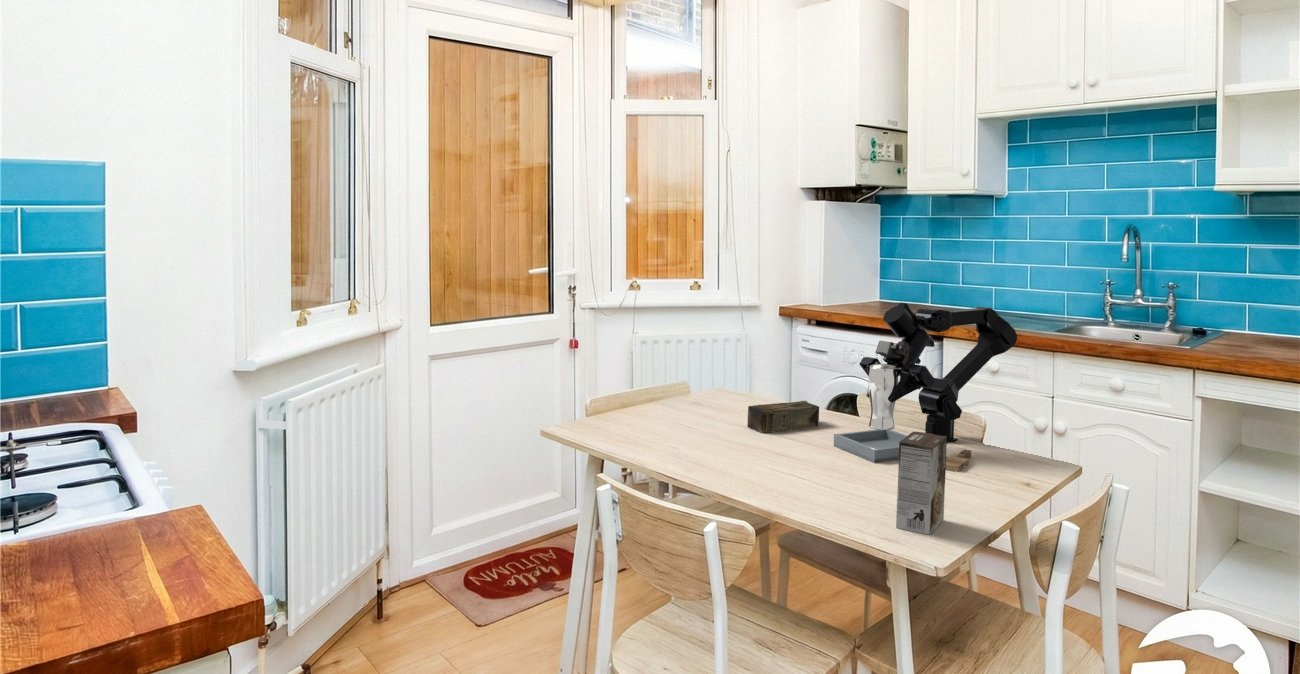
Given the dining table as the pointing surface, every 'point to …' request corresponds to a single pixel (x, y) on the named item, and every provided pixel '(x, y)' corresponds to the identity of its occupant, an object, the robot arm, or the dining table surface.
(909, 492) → the coffee box
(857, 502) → the dining table surface
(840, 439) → the tray
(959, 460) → the scraper paddle
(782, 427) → the beverage carton
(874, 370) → the silver metal cup
